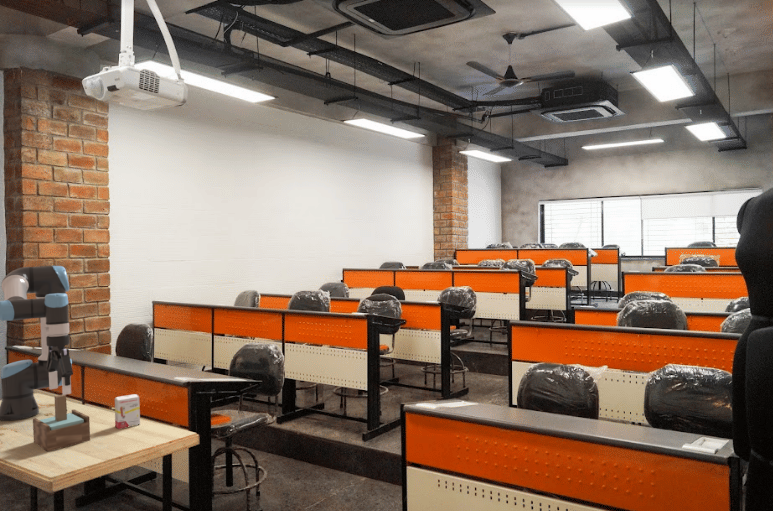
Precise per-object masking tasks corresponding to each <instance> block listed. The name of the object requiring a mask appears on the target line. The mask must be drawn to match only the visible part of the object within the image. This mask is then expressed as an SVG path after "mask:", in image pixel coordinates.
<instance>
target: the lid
mask: <svg viewBox="0 0 773 511" xmlns="http://www.w3.org/2000/svg"><path fill="white" fill-rule="evenodd" d="M53 397H54V412H55V413H54V416H51V417H47V418H46V417H45V418H41V419H39V420H40V421H42V422H44V423H45V424H47V425H49V426H50V430H55V429H59V428H63V427H67V426H71V425H76V424H80V423H84V419H82V418H80V417H78V416H76V415H74V414H72V412H69V413H68V412H67V410H68V409H67V394H66V395H63V394H59V395H54V396H53Z"/></svg>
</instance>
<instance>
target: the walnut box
mask: <svg viewBox="0 0 773 511" xmlns="http://www.w3.org/2000/svg"><path fill="white" fill-rule="evenodd" d="M71 413H72V414H74V415H76V416H78V417H80V418H82V419H84V423H80V424H76V425H71V426H67V427H63V428H59V429H55V430H50V426H49V425H47V424H45V423H44V422H42V421H40V420H41V419H38V418H36V417H34V418H32V429H33V433H32V434H33V443H34V444H35V445H37V446H38V447H40V448H42V449H43V450H45V451H47V452H52V451H56V450H59V449H63V448H68V447H70V446H74V445H77V444H82V443H85V442H88V441H89V442H90V441H91V427H90V426H91V425H90V423H91V422H90V416H89V415H87V414H85V413H83V412H81V411H78V410H76V409H72V410H71Z"/></svg>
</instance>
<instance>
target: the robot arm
mask: <svg viewBox="0 0 773 511" xmlns="http://www.w3.org/2000/svg"><path fill="white" fill-rule="evenodd" d="M1 291H2V292H3V294H4V300H0V321H1V322H3V321H5V322H6V321H9V322H10V321H11V322H12V321H21V320H31V319H40V337H41V338H40V340H41V343H40V344H41V355H39V356H38V358H37V362H33V360H32V359H23V360H18V361H13V362H11V363H8V364H5V365H3V366H2V367H1V369H0V381H1V402H0V421H2V422H3V421H7V422H8V421H18V420H22V419H27V418H31V417H34V416H37V415H38V414H39V412H40V407H39V405H38V402H37V400H36V398H35V395H34V390H39V389H40V390H42V389H46V388H49V390H55V389H58V388H59V387H61V386H62V387H61V392H62V394H61V395H66V396H67V395H70V394H72V380H71V378H72V375H74V371H73V365H72V364H73V360H72V358H70V357H71V356H70V349H69V348H66V347H65V346H68V345H70V343H71V342H70V341H71V340H70V339H71V338H70V334H69V333H70V321H69V298H68V294H67V293H66V292H69V291H70V283H69V277H68V274H67V270H66V268H65V267H64V266H62V265H44V266H43V265H42V266H41V265H39V266H23V267H19V268H16V269H14V270H12V271H11V272H9V273H7V274H6V275H5V276H4V278H3V279H2V282H1ZM28 294H35V298H28V296H27V295H28Z"/></svg>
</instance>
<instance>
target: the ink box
mask: <svg viewBox="0 0 773 511" xmlns="http://www.w3.org/2000/svg"><path fill="white" fill-rule="evenodd" d="M114 421H115V422H114V426H115V427H116V428H117V429H118V430H121V428H122V429H126V428H125V427H127V428H129V427H128V426H132V425H136V426H139V425H138V424H140V425H141V410H140V396H139V394H136V393H135V394H128V395H121V396H117V397H115V398H114ZM132 427H133V426H132Z"/></svg>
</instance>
